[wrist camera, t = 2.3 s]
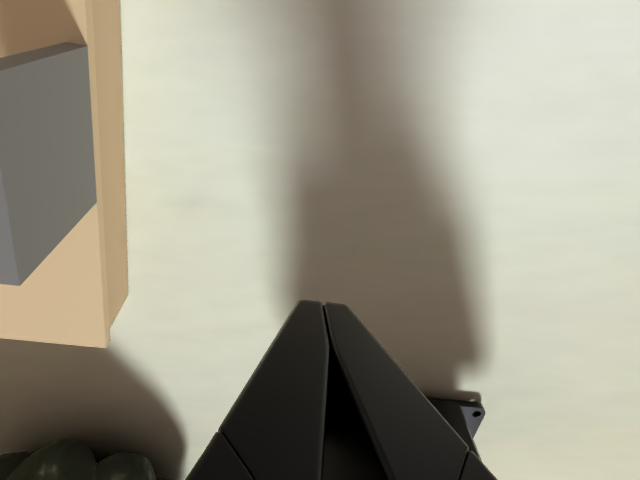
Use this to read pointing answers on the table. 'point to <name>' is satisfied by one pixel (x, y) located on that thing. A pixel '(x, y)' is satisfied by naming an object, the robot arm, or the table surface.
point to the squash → (74, 464)
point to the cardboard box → (111, 147)
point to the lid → (50, 176)
